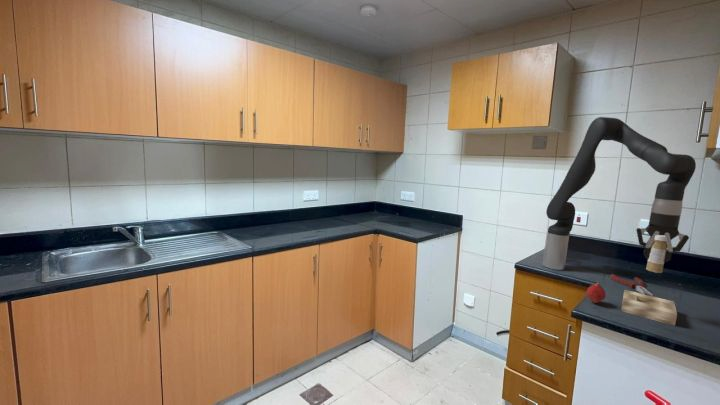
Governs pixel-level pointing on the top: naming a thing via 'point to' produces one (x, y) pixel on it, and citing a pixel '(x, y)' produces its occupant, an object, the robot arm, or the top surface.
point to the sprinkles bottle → (657, 254)
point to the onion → (596, 293)
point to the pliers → (632, 284)
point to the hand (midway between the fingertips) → (656, 259)
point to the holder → (649, 307)
